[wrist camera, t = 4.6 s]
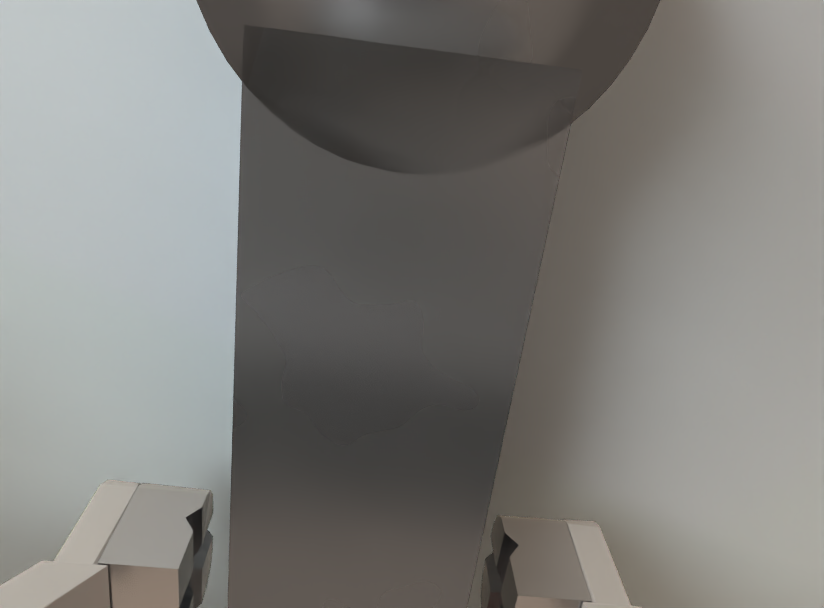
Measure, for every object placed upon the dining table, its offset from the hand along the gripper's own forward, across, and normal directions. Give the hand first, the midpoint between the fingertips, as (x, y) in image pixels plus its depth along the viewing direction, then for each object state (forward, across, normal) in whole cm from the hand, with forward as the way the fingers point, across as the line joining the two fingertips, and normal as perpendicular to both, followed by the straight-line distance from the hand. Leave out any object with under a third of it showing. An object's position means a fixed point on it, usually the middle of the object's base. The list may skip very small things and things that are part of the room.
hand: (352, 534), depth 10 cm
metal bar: (+2, 0, 0) cm, 2 cm away
